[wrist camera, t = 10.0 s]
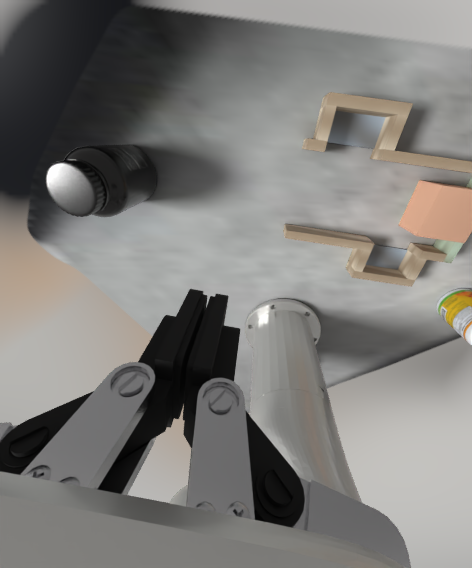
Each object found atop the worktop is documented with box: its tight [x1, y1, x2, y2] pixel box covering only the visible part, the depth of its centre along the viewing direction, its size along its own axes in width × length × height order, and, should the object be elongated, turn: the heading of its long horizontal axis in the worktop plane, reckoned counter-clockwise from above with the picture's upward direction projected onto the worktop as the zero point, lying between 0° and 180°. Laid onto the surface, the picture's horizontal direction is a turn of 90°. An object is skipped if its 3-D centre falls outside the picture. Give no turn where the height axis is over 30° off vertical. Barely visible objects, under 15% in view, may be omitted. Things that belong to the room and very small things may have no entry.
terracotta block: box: [399, 180, 472, 243], centre depth 29 cm, size 6×6×4 cm
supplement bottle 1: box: [45, 145, 157, 217], centre depth 27 cm, size 7×7×12 cm
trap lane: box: [284, 92, 472, 287], centre depth 29 cm, size 19×21×3 cm
